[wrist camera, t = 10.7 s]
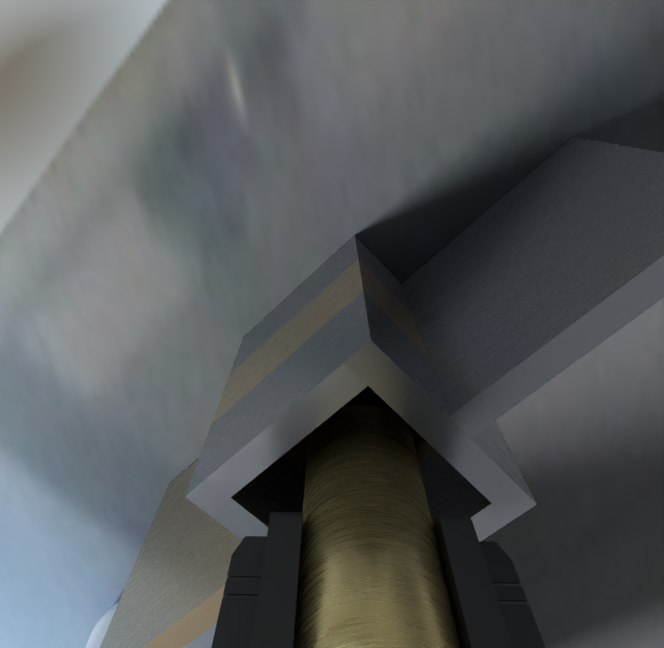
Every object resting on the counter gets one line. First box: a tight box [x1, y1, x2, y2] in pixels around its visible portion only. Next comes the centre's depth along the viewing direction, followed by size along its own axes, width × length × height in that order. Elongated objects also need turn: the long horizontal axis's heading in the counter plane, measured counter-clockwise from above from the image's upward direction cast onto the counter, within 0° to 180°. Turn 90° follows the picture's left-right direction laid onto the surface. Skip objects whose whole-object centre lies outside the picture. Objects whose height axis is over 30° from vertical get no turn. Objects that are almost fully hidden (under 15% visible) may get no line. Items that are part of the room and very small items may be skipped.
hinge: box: [100, 137, 664, 648], centre depth 18 cm, size 22×6×10 cm, turn 133°
